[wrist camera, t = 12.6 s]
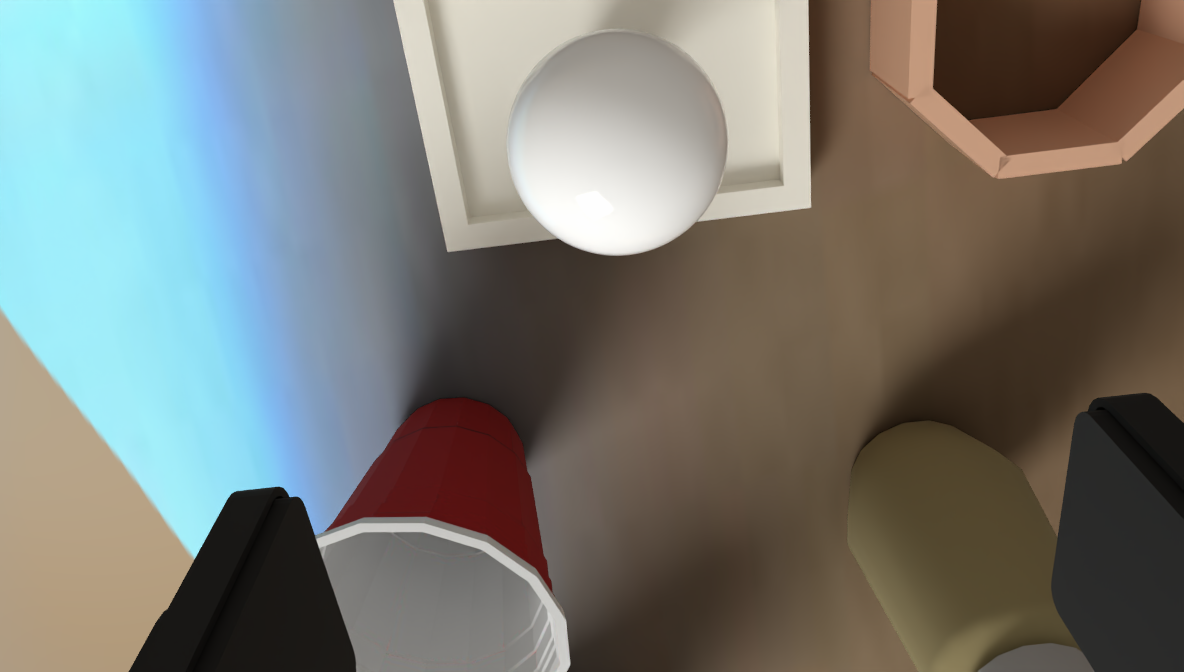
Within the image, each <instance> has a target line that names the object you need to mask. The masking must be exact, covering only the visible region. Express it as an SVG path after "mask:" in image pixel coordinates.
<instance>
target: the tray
mask: <svg viewBox="0 0 1184 672" xmlns="http://www.w3.org/2000/svg"><path fill="white" fill-rule="evenodd" d="M393 1H394V5H395V10H396V15H397V19H398V24H399V28H400V33H401V38H402V42H403V47H404V52H405V56H406V61H407V66H408V70H409V75H410V80H411V84H412V89H413V94H414V98H415V103H416V108H417V112H418V117H419V122H420V126H421V131H422V136H423V140H424V145H425V149H426V154H427V159H428V163H429V168H430V173H431V177H432V182H433V187H434V191H435V196H436V201H437V205H438V210H439V215H440V219H441V224H442V229H443V233H444V238H445V243H446V247H447V252H453V251H461V250H469V249H477V248H485V247H493V246H502V245H510V244H518V243H526V242H534V241H543V240H551V239H558V238H557V237H555V236H554V235H552V234H551V233H550V232H548V231H547V230H546V229H545V228H544V227H543V226H542V225H541V224H540V223H539V222H538V221H537V220H536V219H535V218H534V217H533V216H532V214H531V213H530V212H529V211H528V209H527V208H526V206H525V205H524V203H523V202H522V200H521V198H520V196H519V194H518V192H517V190H516V188H515V185H514V183H513V180H512V177H511V173H510V170H509V165H508V159H507V150H506V134H507V125H508V119H509V115H510V111H511V108H512V105H513V102H514V99H515V97H516V95H517V93H518V91H519V89H520V87H521V85H522V83H523V82H524V80H525V79H526V77H527V76H528V74H529V73H530V72H531V70H532V69H533V68H534V67H535V66H536V64H537V63H538V62H539V61H540V60H541V59H542V58H543V57H545V56H546V55H547V54H548V53H549V52H551V51H552V50H553V49H555V48H556V47H558V46H559V45H561V44H562V43H564V42H566V41H568V40H570V39H572V38H574V37H576V36H579V35H582V34H585V33H588V32H592V31H596V30H602V29H612V28H625V29H634V30H640V31H644V32H648V33H651V34H654V35H657V36H660V37H662V38H664V39H666V40H668V41H670V42H672V43H674V44H675V45H677V46H678V47H680V48H681V49H683V50H684V51H685V52H687V53H688V54H689V55H690V56H691V57H692V58H693V59H695V60H696V61H697V63H698V64H699V65H700V66H701V67H702V68H703V69H704V71H705V72H706V73H707V75H708V76H709V78H710V79H711V81H712V82H713V84H714V86H715V88H716V90H717V92H718V94H719V96H720V98H721V101H722V104H723V107H724V110H725V114H726V119H727V125H728V135H729V148H728V159H727V164H726V169H725V173H724V176H723V179H722V182H721V185H720V187H719V189H718V191H717V193H716V195H715V197H714V199H713V201H712V202H711V204H710V206H709V207H708V208H707V210H706V211H705V212H704V214H703V215H702V216H701V217H700V218H699V219H698V221H706V220H714V219H722V218H731V217H739V216H747V215H755V214H763V213H771V212H780V211H788V210H796V209H804V208H811V166H810V90H809V15H808V0H393ZM698 221H697V222H698Z"/></svg>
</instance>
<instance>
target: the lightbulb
mask: <svg viewBox="0 0 1184 672" xmlns="http://www.w3.org/2000/svg"><path fill="white" fill-rule="evenodd" d="M728 148H729V135H728V125H727V119H726V114H725V110H724V107H723V104H722V101H721V98H720V96H719V94H718V92H717V90H716V88H715V86H714V84H713V82H712V81H711V79H710V78H709V76H708V75H707V73H706V72H705V71H704V69H703V68H702V67H701V66H700V65H699V64H698V63H697V61H696V60H695V59H693V58H692V57H691V56H690V55H689V54H688V53H687V52H685V51H684V50H683V49H681V48H680V47H678V46H677V45H675V44H674V43H672V42H670V41H668V40H666V39H664V38H662V37H660V36H657V35H654V34H651V33H648V32H644V31H640V30H634V29H625V28H612V29H602V30H596V31H592V32H588V33H585V34H582V35H579V36H576V37H574V38H572V39H570V40H568V41H566V42H564V43H562V44H561V45H559V46H558V47H556V48H555V49H553V50H552V51H551V52H549V53H548V54H547V55H546V56H545V57H543V58H542V59H541V60H540V61H539V62H538V63H537V64H536V66H535V67H534V68H533V69H532V70H531V72H530V73H529V74H528V76H527V77H526V79H525V80H524V82H523V83H522V85H521V87H520V89H519V91H518V93H517V95H516V97H515V99H514V102H513V105H512V108H511V111H510V115H509V119H508V125H507V134H506V150H507V159H508V165H509V170H510V173H511V177H512V180H513V183H514V185H515V188H516V190H517V192H518V194H519V196H520V198H521V200H522V202H523V203H524V205H525V206H526V208H527V209H528V211H529V212H530V213H531V214H532V216H533V217H534V218H535V219H536V220H537V221H538V222H539V223H540V224H541V225H542V226H543V227H544V228H545V229H546V230H547V231H548V232H550V233H551V234H552V235H554V236H555V237H557V238H558V239H560V240H561V241H563V242H565V243H567V244H569V245H571V246H573V247H575V248H578V249H581V250H584V251H587V252H591V253H595V254H601V255H610V256H622V255H632V254H638V253H643V252H646V251H650V250H653V249H656V248H658V247H661V246H663V245H665V244H667V243H669V242H671V241H672V240H674V239H676V238H677V237H679V236H680V235H682V234H683V233H684V232H686V231H687V230H688V229H689V228H690V227H691V226H692V225H694V224H695V223H696V222H697V221H698V219H699V218H700V217H701V216H702V215H703V214H704V212H705V211H706V210H707V208H708V207H709V206H710V204H711V202H712V201H713V199H714V197H715V195H716V193H717V191H718V189H719V187H720V185H721V182H722V179H723V176H724V173H725V169H726V164H727V159H728Z"/></svg>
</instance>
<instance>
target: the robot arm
mask: <svg viewBox="0 0 1184 672" xmlns="http://www.w3.org/2000/svg"><path fill="white" fill-rule="evenodd" d="M1051 591H1052V597H1053V601H1054V604H1055V607H1056V610H1057V612H1058V614H1059V616H1060V617H1061V619H1062V620H1063V622H1064V624H1065V625H1066V627H1067V628H1068V630H1069V632H1070V633H1071V635H1072V636H1073V638H1074V640H1075V641H1076V643H1077V644H1078V646H1079V648H1080V649H1081V651H1082V652H1083V654H1084V656H1085V657H1086V659H1087V660H1088V662H1089V664H1090V665H1091V667H1092V668H1093V670H1094V672H1184V423H1183V422H1182V421H1181V420H1180V419H1179V418H1177V417H1176V416H1175V415H1174V414H1173V413H1172V412H1171V411H1170V410H1169V409H1168V408H1167V407H1166V406H1165V405H1164V404H1163V403H1162V402H1161V401H1160V400H1159V399H1157V398H1156V397H1155V396H1153V395H1152V394H1148V393H1139V394H1129V395H1120V396H1111V397H1102V398H1097V399H1095V400H1093V401H1092V403H1091V404H1090V406H1089V409H1088V411H1087V412H1081V413H1079V414H1078V415H1077V417H1076V419H1075V423H1074V429H1073V436H1072V443H1071V449H1070V456H1069V463H1068V470H1067V477H1066V484H1065V491H1064V497H1063V504H1062V511H1061V518H1060V525H1059V532H1058V539H1057V545H1056V552H1055V559H1054V566H1053V573H1052V580H1051ZM129 672H356V658H355V653H354V649H353V646H352V643H351V640H350V637H349V634H348V632H347V629H346V626H345V623H344V620H343V617H342V614H341V611H340V608H339V605H338V602H337V599H336V596H335V593H334V590H333V587H332V585H331V582H330V579H329V576H328V573H327V570H326V567H325V564H324V561H323V558H322V555H321V552H320V549H319V546H318V543H317V540H316V538H315V535H314V532H313V529H312V526H311V523H310V520H309V517H308V514H307V511H306V508H305V506H304V503H303V501H302V500H301V499H300V498H299V497H289V495H288V493H287V492H286V491H285V489H284V488H282V487H271V488H262V489H253V490H244V491H236V492H234V493H232V494H231V495H230V497H229V498H228V500H227V501H226V503H225V505H224V507H223V509H222V511H221V512H220V514H219V516H218V518H217V520H216V521H215V523H214V525H213V527H212V529H211V531H210V532H209V534H208V536H207V538H206V540H205V542H204V543H203V545H202V547H201V549H200V551H199V553H198V554H197V556H196V558H195V560H194V562H193V564H192V566H191V567H190V569H189V571H188V573H187V575H186V576H185V578H184V580H183V582H182V584H181V586H180V587H179V589H178V591H177V593H176V595H175V597H174V598H173V600H172V602H171V604H170V606H169V608H168V609H167V610H166V611H164V612H163V614H162V615H161V616H160V618H159V619H158V620H157V622H156V623H155V625H154V627H153V629H152V631H151V632H150V634H149V636H148V638H147V640H146V641H145V643H144V645H143V647H142V649H141V651H140V652H139V654H138V656H137V658H136V660H135V661H134V663H133V665H132V667H131V669H130V670H129Z"/></svg>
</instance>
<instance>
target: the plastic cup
mask: <svg viewBox="0 0 1184 672" xmlns="http://www.w3.org/2000/svg"><path fill="white" fill-rule="evenodd" d="M315 538H316V540H317V543H318V546H319V549H320V552H321V555H322V558H323V561H324V564H325V567H326V570H327V573H328V576H329V579H330V582H331V585H332V587H333V590H334V593H335V596H336V599H337V602H338V605H339V608H340V611H341V614H342V617H343V620H344V623H345V626H346V629H347V632H348V634H349V637H350V640H351V643H352V646H353V649H354V653H355V658H356V672H567V670H568V668H569V666H570V655H569V645H568V635H567V625H566V618H565V614H564V610H563V609H562V607H561V606H560V604H559V603H558V601H557V600H556V598H555V596H554V594H553V592H552V583H551V580H550V578H549V576H548V567H547V560H546V559H545V557H544V554H543V548H542V542H541V536H540V530H539V524H538V518H537V512H536V506H535V500H534V494H533V488H532V482H531V477H530V475H529V473H528V472H527V466H526V460H525V455H524V449H523V443H522V442H521V440H520V439H519V435H518V434H517V432H516V431H515V429H514V427H513V426H512V424H511V423H510V421H509V419H508V418H507V417H506V416H504V415H503V414H501V413H500V412H499V411H497V410H496V409H494V408H493V407H492V406H490V405H489V404H486V403H482V402H479V401H475V400H472V399H468V398H447V399H438V400H436V401H434V402H431V403H429V404H427V405H425V406H422V407H420V408H418V409H417V410H416V411H415V412H414V413H412V415H411V416H410V417H409V418H408V419H407V420H406V421H405V422H404V423H403V424H402V425H401V426H400V427H399V428H398V429H397V431H396V432H395V434H394V435H393V437H392V439H391V440H390V442H389V443H388V445H387V447H386V448H385V450H384V451H383V453H382V454H381V455H380V456H379V457H378V458H377V459H376V460H375V461H374V463H373V464H372V466H371V467H370V469H369V470H368V472H367V473H366V475H365V476H364V478H363V479H362V480H361V482H360V483H359V485H358V486H357V488H356V489H355V491H354V492H353V494H352V495H351V497H350V498H349V500H348V501H347V503H346V504H345V506H344V507H343V508H342V510H341V511H340V513H339V514H338V516H337V517H336V519H335V520H334V522H333V523H332V524H331V525H330V526H329V528H328V529H327V530H326V531H325V532H323V533H321V534H318V535H315Z"/></svg>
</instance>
